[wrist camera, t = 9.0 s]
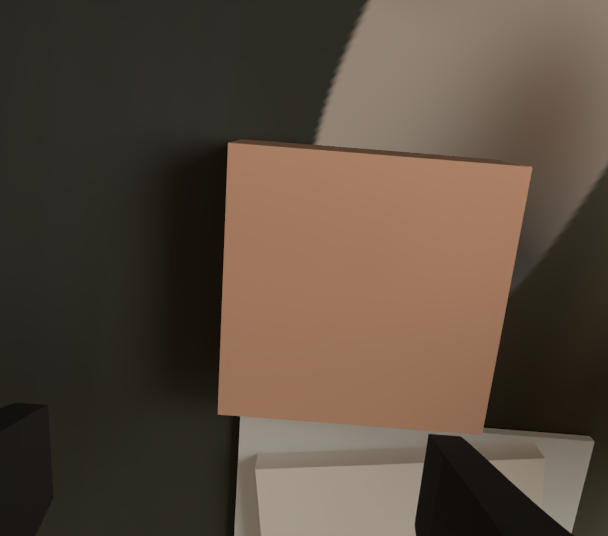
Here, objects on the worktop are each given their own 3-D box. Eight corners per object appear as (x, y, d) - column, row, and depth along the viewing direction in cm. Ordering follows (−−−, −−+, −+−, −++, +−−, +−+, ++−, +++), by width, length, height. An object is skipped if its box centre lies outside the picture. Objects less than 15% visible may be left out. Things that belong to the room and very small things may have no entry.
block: (498, 159, 19) (532, 166, 16) (459, 391, 21) (481, 434, 18) (241, 139, 19) (228, 142, 16) (230, 374, 21) (217, 414, 18)
